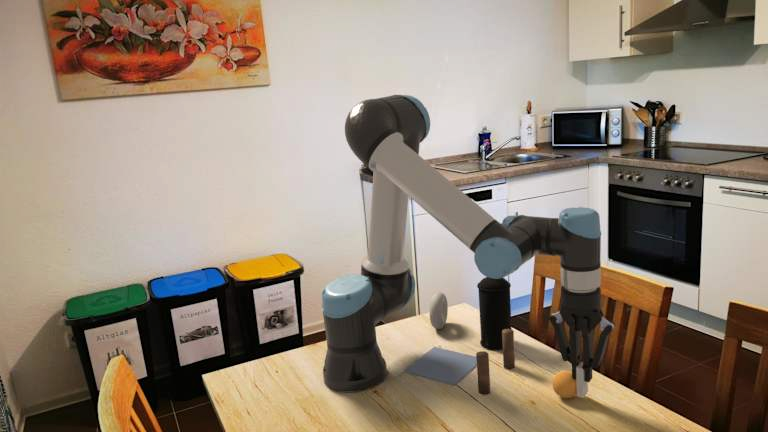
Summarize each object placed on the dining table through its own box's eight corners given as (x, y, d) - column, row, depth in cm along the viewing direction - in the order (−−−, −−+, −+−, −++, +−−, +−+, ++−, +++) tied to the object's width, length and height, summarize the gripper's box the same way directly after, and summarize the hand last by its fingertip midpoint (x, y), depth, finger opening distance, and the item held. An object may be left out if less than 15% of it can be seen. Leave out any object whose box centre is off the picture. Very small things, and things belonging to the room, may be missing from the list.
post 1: (476, 393, 132) (474, 355, 130) (481, 387, 134) (479, 350, 132) (486, 396, 130) (485, 357, 128) (492, 390, 132) (490, 352, 130)
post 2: (501, 367, 142) (500, 332, 139) (506, 363, 144) (505, 328, 141) (512, 370, 140) (510, 334, 138) (516, 365, 142) (515, 330, 140)
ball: (555, 404, 126) (543, 380, 127) (564, 392, 131) (553, 369, 131) (578, 400, 123) (567, 376, 123) (587, 388, 127) (576, 364, 127)
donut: (441, 335, 161) (439, 300, 159) (429, 334, 162) (426, 300, 160) (450, 320, 170) (447, 286, 168) (438, 319, 171) (435, 286, 169)
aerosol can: (499, 353, 148) (496, 276, 144) (473, 344, 154) (469, 270, 150) (519, 342, 154) (516, 267, 149) (493, 333, 160) (490, 261, 155)
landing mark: (403, 371, 144) (403, 370, 144) (434, 347, 155) (434, 346, 155) (454, 385, 136) (454, 384, 136) (483, 359, 147) (483, 358, 146)
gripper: (620, 284, 119) (620, 392, 124) (555, 276, 126) (558, 378, 132) (608, 297, 113) (608, 410, 118) (541, 288, 121) (545, 394, 126)
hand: (582, 393), depth 125 cm, fingers closed
